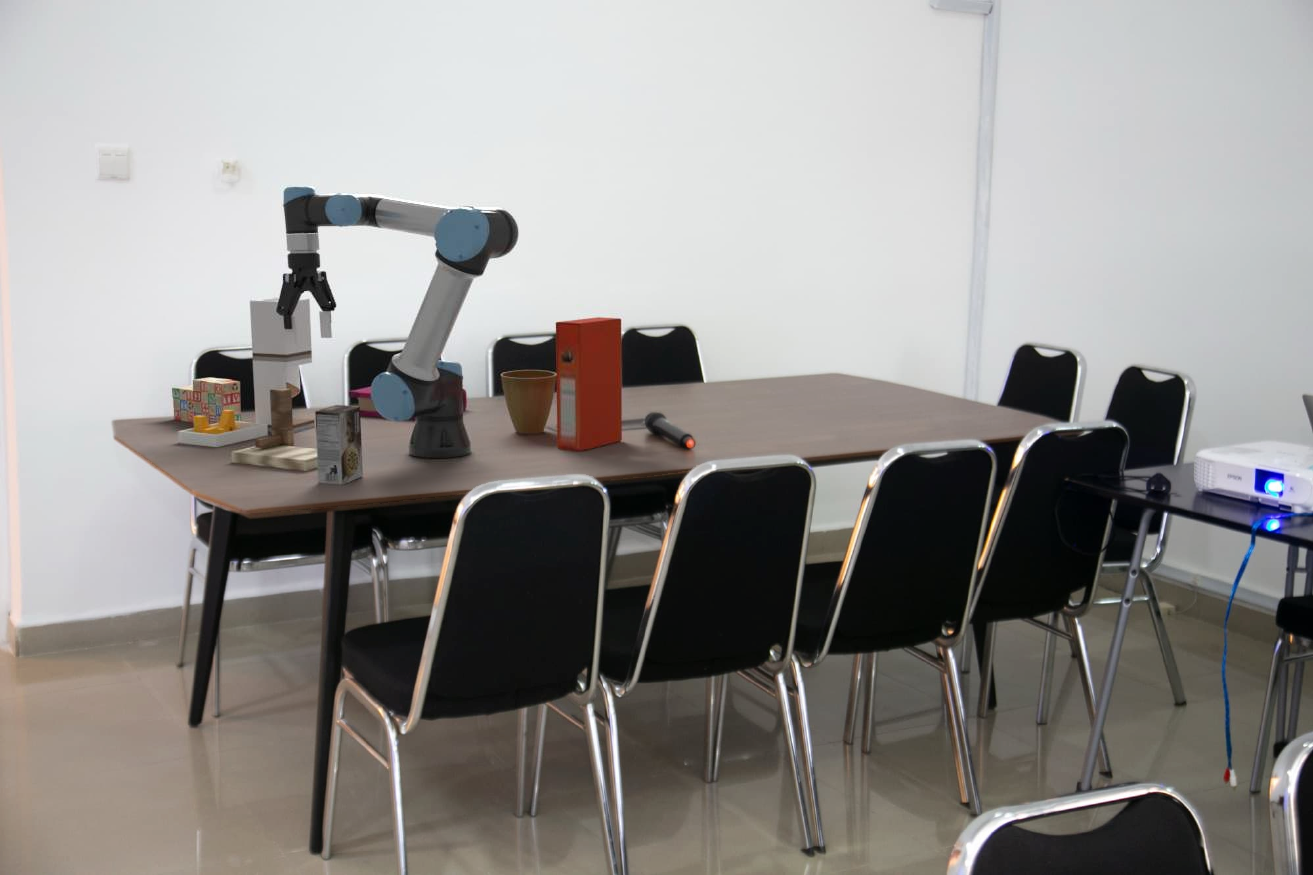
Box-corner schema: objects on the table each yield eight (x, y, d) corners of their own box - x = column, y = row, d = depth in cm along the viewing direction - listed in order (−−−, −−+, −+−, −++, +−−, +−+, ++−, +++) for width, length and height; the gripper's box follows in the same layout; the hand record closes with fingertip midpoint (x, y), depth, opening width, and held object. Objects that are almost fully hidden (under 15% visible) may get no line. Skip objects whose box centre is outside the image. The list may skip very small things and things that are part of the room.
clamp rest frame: (267, 435, 337) (267, 424, 336) (216, 447, 320) (216, 435, 320) (230, 431, 342) (230, 420, 341) (178, 442, 325) (178, 431, 325)
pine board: (339, 461, 304) (338, 451, 303) (306, 470, 293) (305, 460, 292) (266, 453, 313) (266, 443, 312) (231, 462, 302) (231, 451, 301)
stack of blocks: (173, 420, 360) (170, 376, 358) (192, 417, 365) (189, 374, 363) (223, 427, 348) (221, 383, 346) (242, 424, 354) (240, 380, 351)
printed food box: (338, 474, 289) (335, 404, 286) (363, 476, 287) (361, 406, 285) (316, 483, 281) (313, 410, 278) (342, 485, 279) (340, 412, 276)
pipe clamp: (207, 442, 327) (206, 417, 326) (194, 441, 329) (193, 416, 328) (240, 435, 338) (239, 410, 337) (228, 433, 340) (226, 409, 339)
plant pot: (496, 428, 349) (496, 370, 346) (549, 426, 354) (549, 369, 351) (507, 438, 335) (506, 378, 333) (562, 435, 340) (562, 376, 337)
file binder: (556, 448, 323) (555, 321, 317) (596, 438, 337) (596, 316, 331) (581, 451, 319) (581, 323, 313) (621, 441, 333) (622, 318, 327)
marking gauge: (295, 451, 312) (292, 389, 310) (267, 459, 303) (264, 394, 301) (279, 450, 314) (276, 387, 312) (251, 457, 306) (247, 393, 303)
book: (386, 405, 391) (385, 380, 390) (467, 411, 381) (466, 386, 380) (347, 415, 372) (346, 389, 370) (431, 422, 362) (430, 395, 361)
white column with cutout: (290, 433, 339) (284, 301, 333) (256, 431, 343) (249, 300, 336) (314, 426, 350) (309, 299, 344) (281, 424, 353) (275, 297, 347)
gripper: (322, 250, 320) (327, 335, 323) (256, 253, 297) (263, 345, 300) (347, 250, 317) (352, 335, 320) (282, 253, 294) (289, 345, 298)
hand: (309, 340), depth 310 cm, fingers open, 13 cm apart
